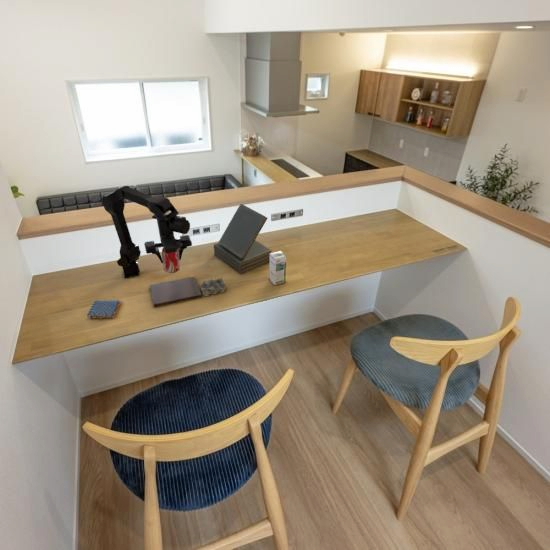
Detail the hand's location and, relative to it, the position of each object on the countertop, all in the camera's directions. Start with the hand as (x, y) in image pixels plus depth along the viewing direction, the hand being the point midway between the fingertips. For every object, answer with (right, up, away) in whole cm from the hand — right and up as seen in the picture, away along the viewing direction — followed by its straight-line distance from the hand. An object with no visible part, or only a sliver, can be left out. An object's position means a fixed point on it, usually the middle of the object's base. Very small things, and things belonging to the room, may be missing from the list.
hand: (171, 261), depth 157 cm
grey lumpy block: (+17, -13, +6) cm, 22 cm away
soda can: (0, -4, +3) cm, 5 cm away
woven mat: (-25, -21, -8) cm, 33 cm away
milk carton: (+46, -9, +13) cm, 49 cm away
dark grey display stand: (+28, +3, +29) cm, 41 cm away
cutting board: (+1, -14, +3) cm, 14 cm away
